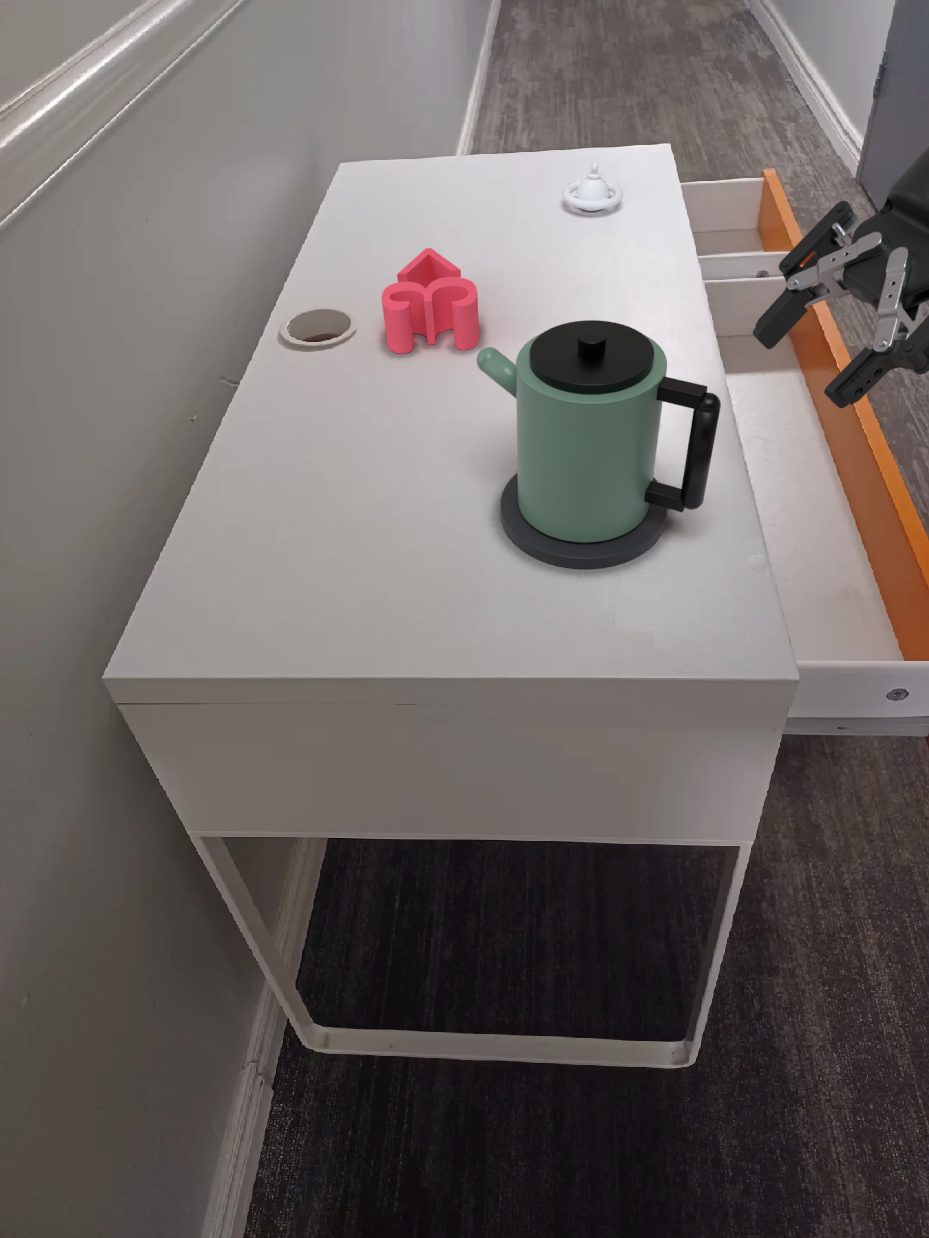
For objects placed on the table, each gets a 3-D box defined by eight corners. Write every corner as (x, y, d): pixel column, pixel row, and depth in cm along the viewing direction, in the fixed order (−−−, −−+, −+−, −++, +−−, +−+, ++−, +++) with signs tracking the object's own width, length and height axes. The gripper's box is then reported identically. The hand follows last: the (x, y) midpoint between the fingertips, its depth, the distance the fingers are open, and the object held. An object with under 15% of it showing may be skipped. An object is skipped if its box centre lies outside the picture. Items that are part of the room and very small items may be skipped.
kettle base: (673, 472, 78) (675, 461, 77) (656, 580, 69) (658, 569, 68) (519, 455, 81) (519, 444, 80) (483, 556, 72) (483, 545, 71)
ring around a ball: (611, 224, 114) (629, 201, 119) (615, 178, 109) (634, 156, 114) (552, 215, 116) (572, 192, 121) (555, 170, 112) (575, 148, 117)
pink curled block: (390, 292, 104) (385, 250, 101) (476, 287, 104) (474, 245, 100) (385, 354, 95) (380, 311, 91) (480, 349, 94) (478, 305, 91)
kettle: (719, 493, 73) (751, 327, 63) (673, 575, 67) (701, 407, 56) (512, 436, 81) (508, 278, 70) (453, 506, 74) (439, 344, 63)
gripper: (890, 98, 58) (712, 300, 64) (1061, 169, 49) (835, 398, 55) (930, 167, 63) (762, 349, 69) (1092, 244, 54) (881, 446, 60)
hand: (794, 370), depth 62 cm, fingers open, 8 cm apart
